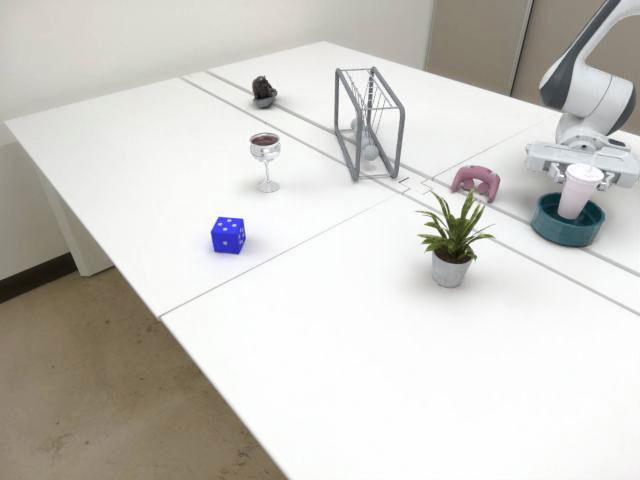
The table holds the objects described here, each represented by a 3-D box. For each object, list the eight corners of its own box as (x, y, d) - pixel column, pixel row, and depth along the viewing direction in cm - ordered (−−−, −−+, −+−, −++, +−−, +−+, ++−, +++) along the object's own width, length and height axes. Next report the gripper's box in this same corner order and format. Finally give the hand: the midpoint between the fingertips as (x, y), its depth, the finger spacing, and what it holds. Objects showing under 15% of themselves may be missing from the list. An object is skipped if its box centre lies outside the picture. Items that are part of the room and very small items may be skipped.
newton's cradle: (398, 181, 108) (406, 109, 97) (354, 184, 107) (358, 111, 95) (369, 126, 131) (374, 63, 120) (333, 129, 130) (334, 65, 119)
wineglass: (262, 197, 102) (257, 149, 95) (249, 184, 107) (243, 137, 99) (288, 188, 105) (286, 141, 98) (274, 175, 110) (270, 129, 102)
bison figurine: (257, 96, 149) (254, 64, 143) (279, 96, 149) (277, 65, 142) (252, 111, 140) (248, 78, 133) (275, 111, 139) (272, 78, 133)
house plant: (415, 240, 90) (427, 168, 80) (487, 257, 86) (510, 183, 76) (398, 288, 80) (409, 212, 70) (479, 309, 76) (504, 232, 66)
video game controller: (494, 202, 103) (505, 172, 102) (492, 203, 99) (503, 172, 98) (452, 190, 107) (461, 161, 105) (448, 191, 103) (457, 160, 101)
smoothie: (575, 227, 87) (603, 163, 78) (544, 212, 91) (568, 149, 82) (591, 215, 91) (620, 151, 82) (560, 201, 94) (585, 139, 85)
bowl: (583, 213, 97) (592, 194, 94) (604, 250, 88) (614, 229, 85) (524, 210, 98) (531, 190, 95) (538, 245, 89) (546, 225, 86)
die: (214, 252, 88) (210, 231, 85) (221, 236, 92) (218, 216, 88) (239, 254, 87) (236, 234, 84) (246, 238, 91) (243, 218, 88)
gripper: (530, 129, 96) (527, 158, 87) (639, 146, 91) (650, 180, 81) (522, 155, 100) (518, 187, 90) (626, 173, 94) (634, 209, 85)
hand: (581, 184), depth 85 cm, fingers closed on smoothie, 6 cm apart
